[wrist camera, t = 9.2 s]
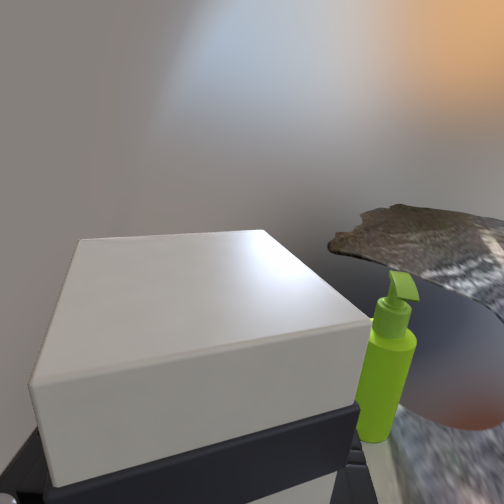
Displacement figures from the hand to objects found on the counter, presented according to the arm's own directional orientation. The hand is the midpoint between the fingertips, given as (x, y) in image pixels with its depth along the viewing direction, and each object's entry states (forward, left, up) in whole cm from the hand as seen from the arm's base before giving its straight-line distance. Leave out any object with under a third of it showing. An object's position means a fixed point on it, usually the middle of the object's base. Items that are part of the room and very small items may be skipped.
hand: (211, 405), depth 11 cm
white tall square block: (-1, -2, -11) cm, 11 cm away
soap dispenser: (+23, +14, -25) cm, 37 cm away
